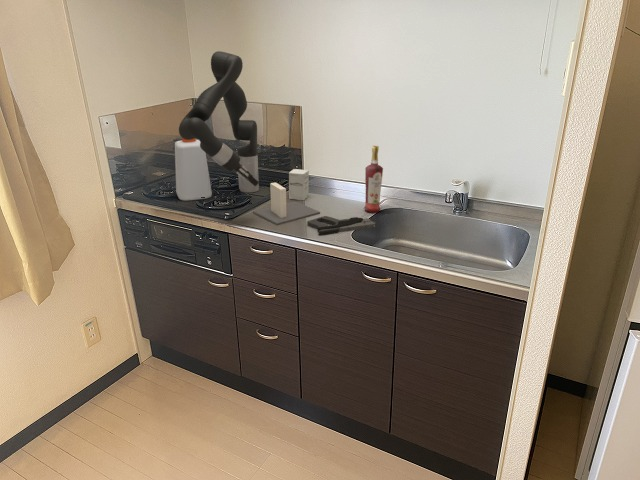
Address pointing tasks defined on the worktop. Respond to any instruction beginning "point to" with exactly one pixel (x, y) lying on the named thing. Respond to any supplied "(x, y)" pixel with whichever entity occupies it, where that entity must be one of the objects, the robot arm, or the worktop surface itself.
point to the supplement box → (298, 184)
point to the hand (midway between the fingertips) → (256, 183)
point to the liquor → (373, 182)
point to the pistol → (339, 224)
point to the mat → (293, 213)
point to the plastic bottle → (191, 171)
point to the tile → (278, 199)
